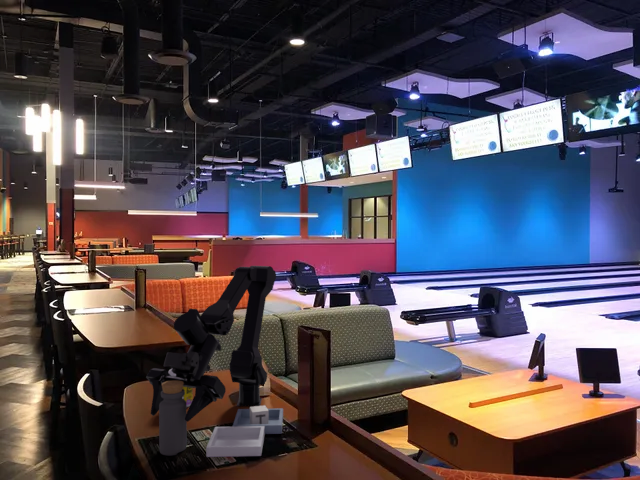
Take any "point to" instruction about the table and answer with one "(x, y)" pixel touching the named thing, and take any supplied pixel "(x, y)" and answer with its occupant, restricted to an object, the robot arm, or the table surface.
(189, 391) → the supplement bottle
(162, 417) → the bottle
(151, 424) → the table surface
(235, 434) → the grey tray
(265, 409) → the white cube
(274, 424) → the blue tray
